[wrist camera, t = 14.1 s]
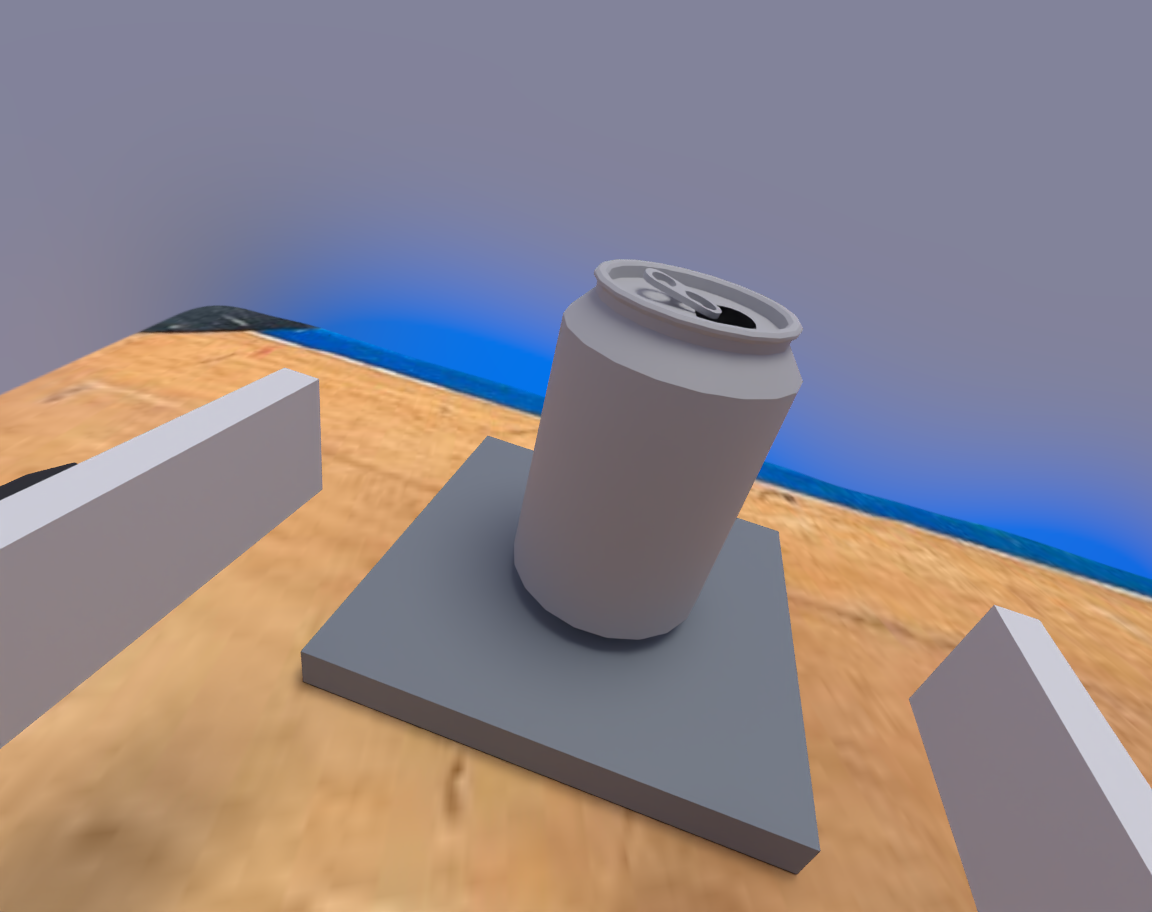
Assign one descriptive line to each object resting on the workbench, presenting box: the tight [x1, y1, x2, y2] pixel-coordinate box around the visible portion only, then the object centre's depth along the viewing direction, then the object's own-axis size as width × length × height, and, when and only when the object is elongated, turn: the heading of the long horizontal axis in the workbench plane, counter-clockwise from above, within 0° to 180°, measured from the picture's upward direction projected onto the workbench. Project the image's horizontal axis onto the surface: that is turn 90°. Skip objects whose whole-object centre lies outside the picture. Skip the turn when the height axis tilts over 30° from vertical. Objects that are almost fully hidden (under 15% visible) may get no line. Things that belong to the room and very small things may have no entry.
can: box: [514, 259, 803, 640], centre depth 19 cm, size 8×8×12 cm
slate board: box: [301, 436, 820, 874], centre depth 22 cm, size 16×15×2 cm
